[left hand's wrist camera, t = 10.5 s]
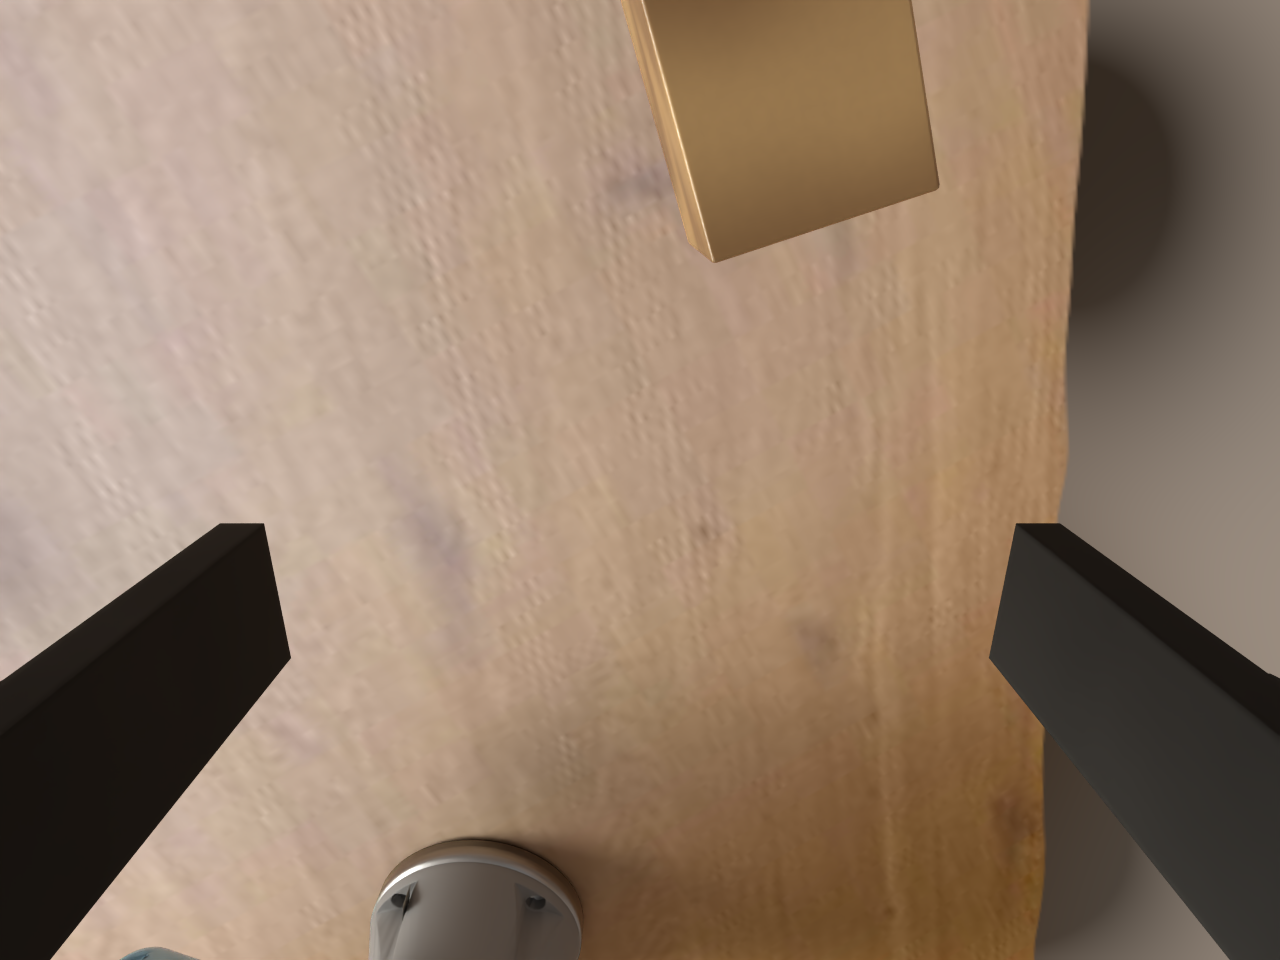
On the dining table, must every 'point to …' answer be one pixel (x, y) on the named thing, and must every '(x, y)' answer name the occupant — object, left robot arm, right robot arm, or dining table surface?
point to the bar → (783, 113)
